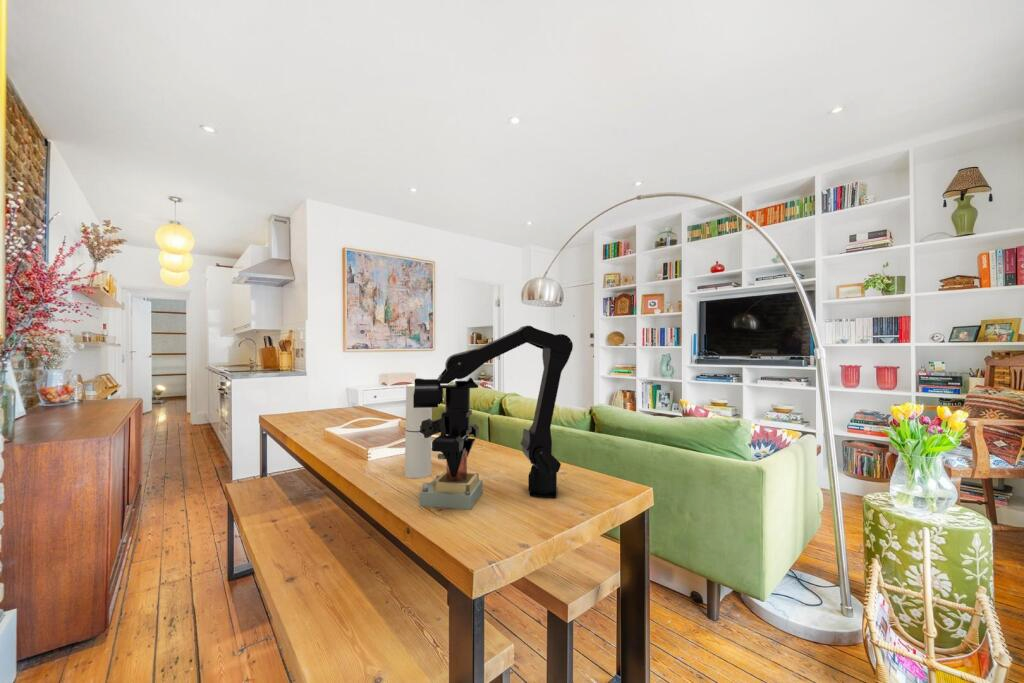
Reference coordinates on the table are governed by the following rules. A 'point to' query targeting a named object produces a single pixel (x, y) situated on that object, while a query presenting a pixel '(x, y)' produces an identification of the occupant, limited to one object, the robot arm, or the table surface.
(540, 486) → the robot arm
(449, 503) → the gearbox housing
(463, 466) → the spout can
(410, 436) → the cylindrical container
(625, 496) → the table surface
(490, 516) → the table surface
